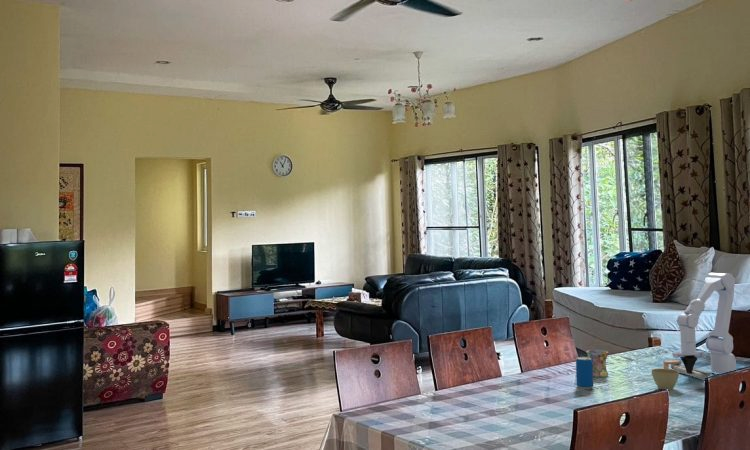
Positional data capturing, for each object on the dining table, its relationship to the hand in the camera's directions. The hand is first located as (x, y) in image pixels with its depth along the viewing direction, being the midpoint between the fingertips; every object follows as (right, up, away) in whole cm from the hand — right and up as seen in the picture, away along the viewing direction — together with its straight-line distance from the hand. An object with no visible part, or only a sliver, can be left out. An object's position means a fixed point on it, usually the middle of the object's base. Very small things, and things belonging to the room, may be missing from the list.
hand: (689, 373), depth 262 cm
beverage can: (-49, -3, -13) cm, 51 cm away
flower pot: (-19, -2, -18) cm, 26 cm away
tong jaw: (+1, -1, +1) cm, 2 cm away
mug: (-38, -3, +7) cm, 38 cm away
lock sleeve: (0, -2, +15) cm, 15 cm away
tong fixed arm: (+2, -2, +6) cm, 7 cm away
